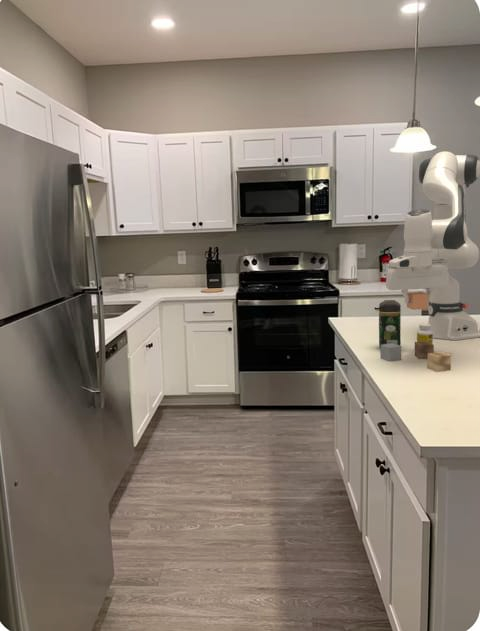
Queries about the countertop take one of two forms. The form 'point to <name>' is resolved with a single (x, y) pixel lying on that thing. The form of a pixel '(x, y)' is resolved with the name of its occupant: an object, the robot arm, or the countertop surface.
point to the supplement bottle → (425, 333)
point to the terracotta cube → (418, 300)
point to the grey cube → (391, 352)
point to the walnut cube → (423, 349)
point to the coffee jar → (389, 322)
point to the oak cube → (439, 361)
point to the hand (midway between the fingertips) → (417, 302)
